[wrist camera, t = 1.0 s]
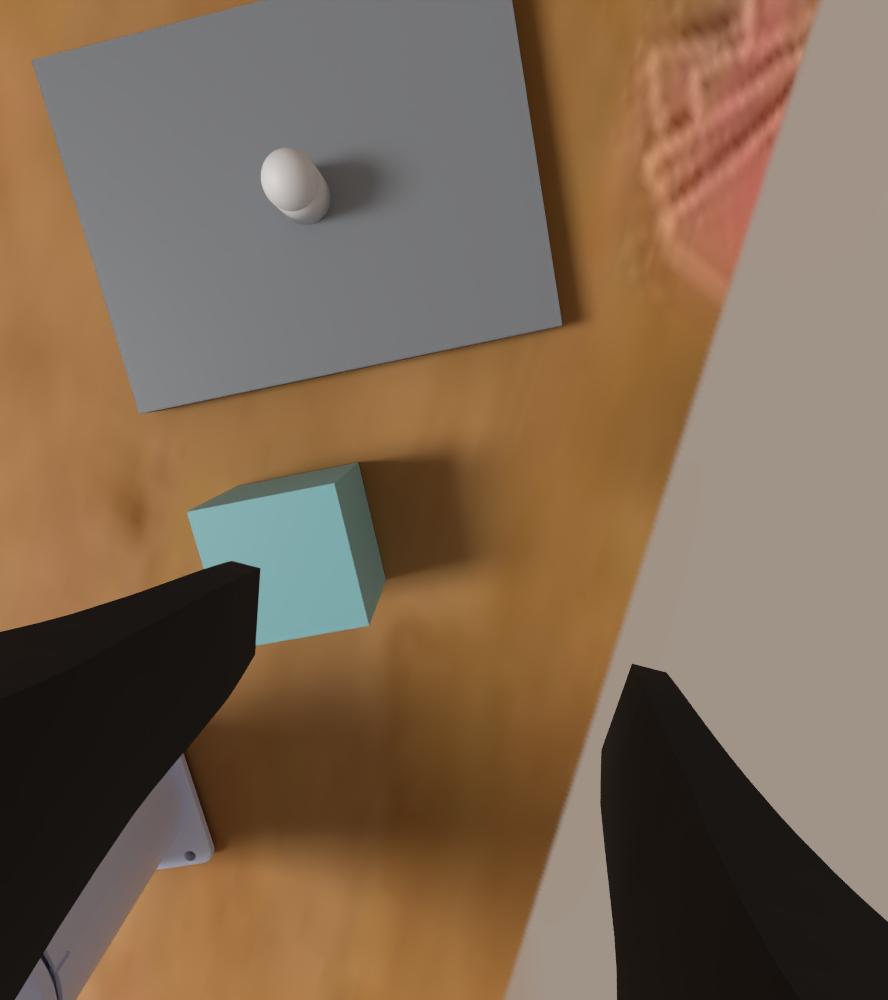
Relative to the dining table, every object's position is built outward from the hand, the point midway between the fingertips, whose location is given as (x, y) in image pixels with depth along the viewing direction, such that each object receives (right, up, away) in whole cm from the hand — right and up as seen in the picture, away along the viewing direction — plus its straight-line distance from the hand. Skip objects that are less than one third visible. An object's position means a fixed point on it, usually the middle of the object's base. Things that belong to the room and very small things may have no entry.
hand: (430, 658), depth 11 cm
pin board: (-5, +14, +10) cm, 18 cm away
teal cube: (-5, +2, +13) cm, 14 cm away
